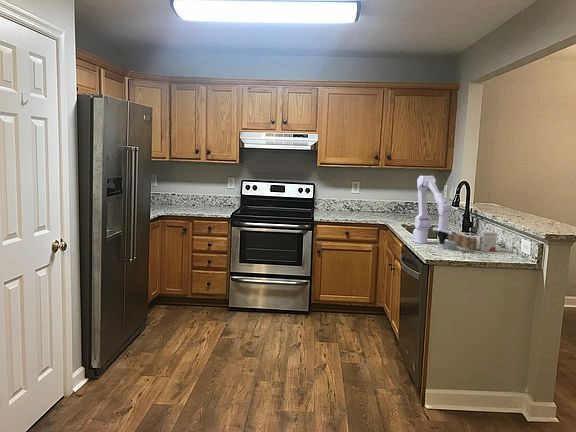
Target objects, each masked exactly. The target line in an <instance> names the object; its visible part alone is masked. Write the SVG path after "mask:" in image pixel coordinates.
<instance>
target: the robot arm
mask: <svg viewBox="0 0 576 432" xmlns="http://www.w3.org/2000/svg"><path fill="white" fill-rule="evenodd" d="M416 180H417V181H416V183H417V185H416V187H417V199H418V200H417V203H418V214H417V215H416V216H415V217H414V227H415V228H414V229H413V231H412V239H411V242H415V243H418V244H430V243H431V241H428V236H429V230H430V228H431V227H432V221H431V216H430V215H429V214H428V204H427V203H428V200H427V199H428V197H427V190H428V189H429V190H430V191H431V192H432V194H433V195H434V197H433V199H434V201H435V203H436V205H437V211H438V213H437V214H438V225H437V226H438V227H432V231H433V232H436V235H437V237H438V241H439V242H440V244H444V242H445V241H446V239H447V238H448V235H449V234H450V235H451V234H454V231H453V230H450V229H449V217H450V212H451V211H452V210H453V209H452V208H453V206H452V204H451V203H450V202H448V201H447V200H446V198H445V197H444V194H442V193H440V191H439V189H438V186H437V184H436V181H437V179H436V178H435V176H434V175H419V177H417V179H416ZM439 242H438V243H439Z"/></svg>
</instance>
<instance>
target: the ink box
mask: <svg viewBox="0 0 576 432" xmlns="http://www.w3.org/2000/svg"><path fill="white" fill-rule="evenodd" d="M497 236H498V233H497V232H495V231H485V230H484V231H483V230H482V231H480V235H479V245H478V250H479V251H481V252H496V248H497Z"/></svg>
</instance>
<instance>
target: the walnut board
mask: <svg viewBox="0 0 576 432" xmlns="http://www.w3.org/2000/svg"><path fill="white" fill-rule="evenodd" d="M447 241H452V242H456V243H457V247H458V246H459V248H462V247H463V249H466V248H467V250H471V251H476V250H477V242H478V241H477V238H476V237H470V236H466V235H463V234H462V235H461V234H457V233H453V234H451V235H450V234H448V236H447Z"/></svg>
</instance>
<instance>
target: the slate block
mask: <svg viewBox="0 0 576 432" xmlns="http://www.w3.org/2000/svg"><path fill="white" fill-rule="evenodd" d="M439 247H440V249H443V248H444V249H443V250H446V249H448V250H456V249H457V247H458V246H457V243H456V242H452V241H448V240H445V242H444V244H440V242H438V248H439Z"/></svg>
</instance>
